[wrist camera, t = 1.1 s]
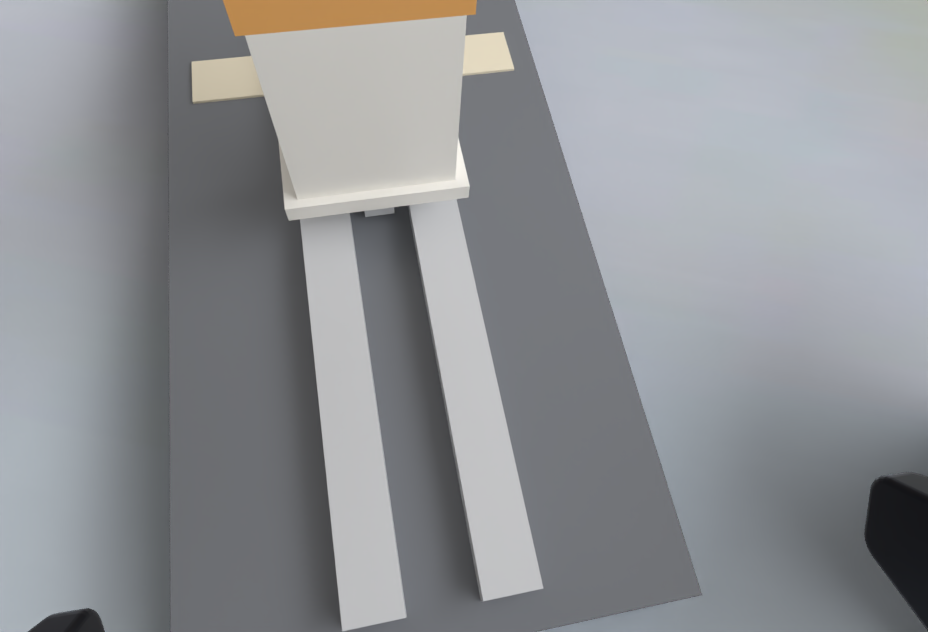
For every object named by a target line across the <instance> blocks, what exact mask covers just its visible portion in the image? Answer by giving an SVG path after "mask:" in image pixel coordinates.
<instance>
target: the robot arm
mask: <svg viewBox="0 0 928 632" xmlns="http://www.w3.org/2000/svg"><path fill="white" fill-rule="evenodd" d="M864 535H865V541H866V544H867V547H868V549H869V551H870V553H871V555H872V556H873V558H874V559H875V560H876V562H877V563H878V565H879V566H880V567H881V569H882V570H883V571H884V573H885V574H886V575H887V577H888V578H889V579H890V581H891V582H892V583H893V585H894V586H895V587H896V589H897V590H898V591H899V593H900V594H901V595H902V597H903V598H904V599H905V601H906V602H907V603H908V605H909V606H910V607H911V609H912V610H913V611H914V613H915V614H916V615H917V617H918V618H919V619H920V621H921V622H922V623H923V625H924V626H925V628H926V629H927V630H928V477H927V476H924V475H920V474H917V473H912V472H904V473H897V474H891V475H885V476H881V477H879V478H877V479H875V481H874V482H873V484H872V485H871V489H870V496H869V503H868V510H867V517H866V524H865V532H864ZM28 632H105V631H104V628H103V625H102V622H101V619H100V617H99V615H98V614H97V612H96V611H94V610H92V609H89V608H86V609H79V610H73V611H67V612H61V613H56V614H53V615H50V616H48V617H47V618H45V619H44V620H42V621H41V622H40V623H39V624H37V625H36V626H35V627H33V628H32V629H31V630H29V631H28Z"/></svg>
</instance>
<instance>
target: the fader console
mask: <svg viewBox="0 0 928 632" xmlns="http://www.w3.org/2000/svg"><path fill="white" fill-rule="evenodd" d="M458 138H459V143H460V147H461V151H462V155H463V160H464V164H465V168H466V172H467V176H468V181H469V185H470V189H469V198H461V199H453V200H446V201H438V202H430V203H422V204H415V205H407V206H399V207H394V212H395V213H393V214H385V215H377V216H370V217H365V212H364V211H360V212H353V213H345V214H337V215H329V216H322V217H314V218H306V219H298V220H291V221H289V220H288V217H287V214H286V212H285V207H284V196H283V185H282V174H281V163H280V153H279V142H278V137H277V134H276V131H275V128H274V125H273V122H272V119H271V115H270V112H269V109H268V106H267V103H266V100H265V97H264V94H263V91H262V87H261V84H260V81H259V78H258V75H257V72H256V69H255V66H254V63H253V59H252V56H251V53H250V50H249V47H248V44H247V41H246V38H245V36H235V35H234V32H233V29H232V26H231V23H230V20H229V17H228V14H227V11H226V8H225V5H224V2H223V0H168V198H169V430H170V632H537V631H542V630H546V629H551V628H555V627H560V626H564V625H569V624H573V623H578V622H582V621H587V620H591V619H596V618H600V617H605V616H609V615H614V614H618V613H623V612H627V611H632V610H636V609H641V608H645V607H650V606H654V605H659V604H663V603H668V602H672V601H677V600H681V599H686V598H690V597H695V596H699V595H702V593H701V590H700V587H699V584H698V581H697V577H696V574H695V571H694V568H693V565H692V562H691V558H690V555H689V552H688V549H687V546H686V542H685V539H684V536H683V533H682V530H681V527H680V523H679V520H678V517H677V514H676V511H675V508H674V504H673V501H672V498H671V495H670V492H669V489H668V485H667V482H666V479H665V476H664V473H663V470H662V466H661V463H660V460H659V457H658V454H657V450H656V447H655V444H654V441H653V438H652V435H651V431H650V428H649V425H648V422H647V419H646V416H645V412H644V409H643V406H642V403H641V400H640V397H639V393H638V390H637V387H636V384H635V381H634V378H633V374H632V371H631V368H630V365H629V362H628V358H627V355H626V352H625V349H624V346H623V343H622V339H621V336H620V333H619V330H618V327H617V324H616V320H615V317H614V314H613V311H612V308H611V305H610V301H609V298H608V295H607V292H606V289H605V286H604V282H603V279H602V276H601V273H600V270H599V266H598V263H597V260H596V257H595V254H594V251H593V247H592V244H591V241H590V238H589V235H588V232H587V228H586V225H585V222H584V219H583V216H582V213H581V209H580V206H579V203H578V200H577V197H576V194H575V190H574V187H573V184H572V181H571V178H570V175H569V171H568V168H567V165H566V162H565V159H564V155H563V152H562V149H561V146H560V143H559V140H558V136H557V133H556V130H555V127H554V124H553V121H552V117H551V114H550V111H549V108H548V105H547V102H546V98H545V95H544V92H543V89H542V86H541V83H540V79H539V76H538V73H537V70H536V67H535V63H534V60H533V57H532V54H531V51H530V48H529V44H528V41H527V38H526V35H525V32H524V29H523V25H522V22H521V19H520V16H519V13H518V10H517V6H516V3H515V0H477V4H476V14H475V15H467V19H466V34H465V48H464V62H463V76H462V91H461V105H460V119H459V133H458Z"/></svg>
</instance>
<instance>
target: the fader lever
mask: <svg viewBox="0 0 928 632" xmlns="http://www.w3.org/2000/svg"><path fill="white" fill-rule="evenodd" d="M223 2H224V5H225V8H226V11H227V14H228V17H229V20H230V23H231V26H232V29H233V32H234V35H235V36H245V38H246V41H247V44H248V47H249V50H250V53H251V56H252V59H253V63H254V66H255V69H256V72H257V75H258V78H259V81H260V84H261V87H262V91H263V94H264V97H265V100H266V103H267V106H268V109H269V112H270V115H271V119H272V122H273V125H274V128H275V131H276V134H277V137H278V142H279V153H280V163H281V174H282V185H283V196H284V207H285V212H286V214H287V217H288V220H289V221H291V220H298V219H306V218H314V217H322V216H329V215H337V214H345V213H353V212H360V211H364V212H365V217H370V216H377V215H385V214H393V213H395V212H394V207H399V206H407V205H415V204H422V203H430V202H438V201H446V200H453V199H461V198H469V189H470V185H469V181H468V176H467V172H466V168H465V164H464V160H463V155H462V151H461V147H460V143H459V138H458V133H459V119H460V105H461V91H462V76H463V62H464V48H465V34H466V19H467V15H475V14H476V4H477V0H223Z"/></svg>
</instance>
